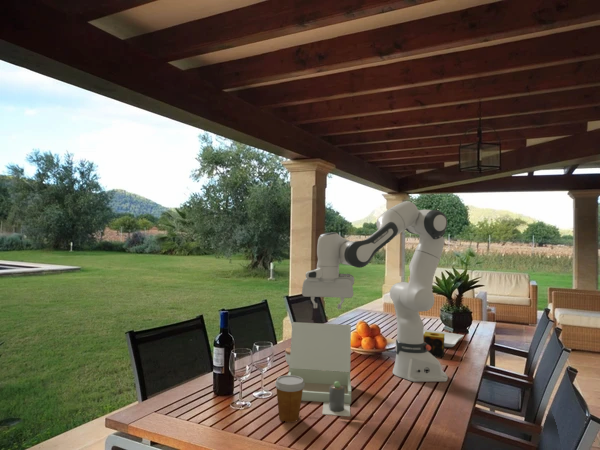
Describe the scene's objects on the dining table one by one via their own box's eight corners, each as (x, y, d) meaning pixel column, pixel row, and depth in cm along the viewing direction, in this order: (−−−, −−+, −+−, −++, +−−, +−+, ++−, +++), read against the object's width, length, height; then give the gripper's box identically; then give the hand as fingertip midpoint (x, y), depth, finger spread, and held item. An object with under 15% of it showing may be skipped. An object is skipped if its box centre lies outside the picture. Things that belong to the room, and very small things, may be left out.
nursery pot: (344, 406, 135) (344, 379, 135) (344, 412, 130) (344, 384, 130) (329, 405, 135) (329, 378, 135) (328, 411, 130) (329, 383, 130)
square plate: (464, 340, 235) (464, 334, 235) (454, 351, 212) (454, 343, 212) (418, 333, 249) (418, 327, 249) (404, 342, 226) (404, 336, 226)
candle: (422, 355, 202) (422, 335, 202) (424, 350, 211) (424, 331, 211) (443, 357, 198) (443, 337, 198) (444, 352, 207) (444, 333, 207)
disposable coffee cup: (281, 409, 133) (282, 372, 133) (308, 414, 129) (309, 377, 129) (268, 421, 124) (269, 382, 124) (296, 427, 120) (297, 387, 121)
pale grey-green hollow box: (349, 380, 162) (350, 324, 162) (351, 405, 137) (352, 339, 138) (291, 376, 164) (292, 321, 165) (282, 400, 140) (284, 335, 141)
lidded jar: (306, 372, 170) (307, 350, 170) (282, 370, 172) (282, 348, 173) (310, 364, 181) (311, 344, 181) (287, 362, 183) (288, 342, 183)
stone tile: (349, 406, 136) (349, 404, 136) (350, 418, 127) (350, 415, 127) (323, 404, 137) (323, 402, 137) (322, 416, 128) (322, 413, 128)
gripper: (354, 273, 159) (353, 307, 159) (303, 272, 161) (302, 306, 160) (354, 274, 153) (354, 310, 152) (301, 273, 155) (301, 309, 154)
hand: (327, 308), depth 156 cm, fingers open, 8 cm apart
